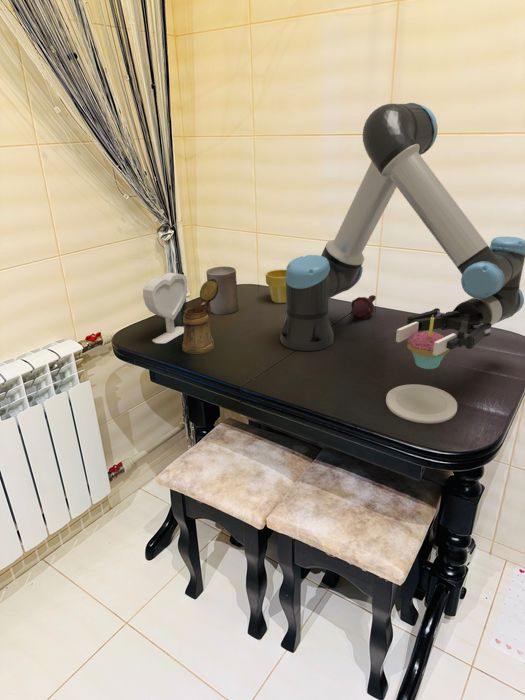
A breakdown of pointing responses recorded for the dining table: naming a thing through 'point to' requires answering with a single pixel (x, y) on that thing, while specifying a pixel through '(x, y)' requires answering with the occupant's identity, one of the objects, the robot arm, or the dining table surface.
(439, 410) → the saucer
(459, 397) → the dining table surface
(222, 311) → the pillar candle
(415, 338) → the cupcake
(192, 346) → the wooden mug
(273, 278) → the plant pot
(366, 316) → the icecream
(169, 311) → the heart sculpture
